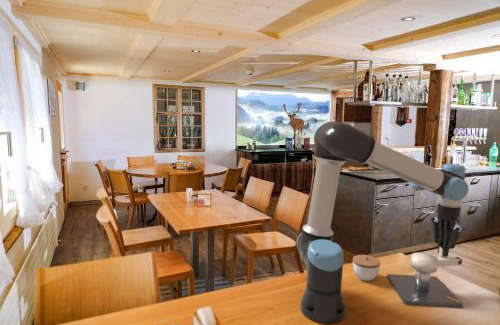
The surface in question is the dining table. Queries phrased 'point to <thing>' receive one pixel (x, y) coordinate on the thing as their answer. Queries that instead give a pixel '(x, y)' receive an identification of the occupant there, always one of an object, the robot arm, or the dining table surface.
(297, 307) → the dining table surface
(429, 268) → the coupling lever handle
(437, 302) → the base
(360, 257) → the lidded jar
